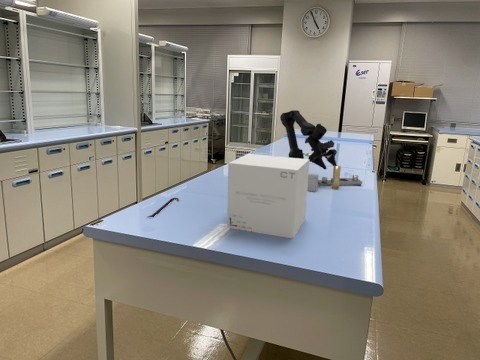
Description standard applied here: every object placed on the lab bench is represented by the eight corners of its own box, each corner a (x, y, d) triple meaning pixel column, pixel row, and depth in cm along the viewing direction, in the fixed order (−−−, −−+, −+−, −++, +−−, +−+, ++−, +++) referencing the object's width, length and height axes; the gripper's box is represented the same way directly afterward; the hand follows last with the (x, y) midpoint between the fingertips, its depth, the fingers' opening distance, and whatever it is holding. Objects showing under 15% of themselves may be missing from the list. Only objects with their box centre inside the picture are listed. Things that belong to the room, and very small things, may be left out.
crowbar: (170, 197, 170) (181, 197, 170) (170, 199, 171) (181, 200, 170) (145, 216, 144) (158, 218, 143) (145, 219, 144) (158, 220, 143)
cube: (227, 227, 137) (228, 163, 132) (246, 210, 157) (248, 153, 151) (293, 238, 129) (297, 170, 123) (305, 219, 148) (309, 159, 142)
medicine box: (317, 189, 192) (318, 173, 190) (316, 192, 188) (317, 175, 186) (302, 188, 195) (303, 172, 192) (300, 190, 190) (301, 173, 188)
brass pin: (333, 189, 194) (335, 167, 191) (330, 187, 197) (332, 165, 194) (339, 189, 194) (341, 167, 191) (337, 187, 198) (339, 165, 195)
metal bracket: (321, 185, 200) (321, 177, 199) (316, 182, 208) (317, 173, 206) (362, 185, 202) (362, 177, 201) (356, 182, 210) (357, 174, 209)
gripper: (314, 136, 189) (330, 161, 184) (335, 134, 202) (351, 157, 196) (301, 149, 197) (316, 173, 192) (322, 146, 209) (337, 169, 204)
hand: (331, 168), depth 196 cm, fingers open, 9 cm apart
